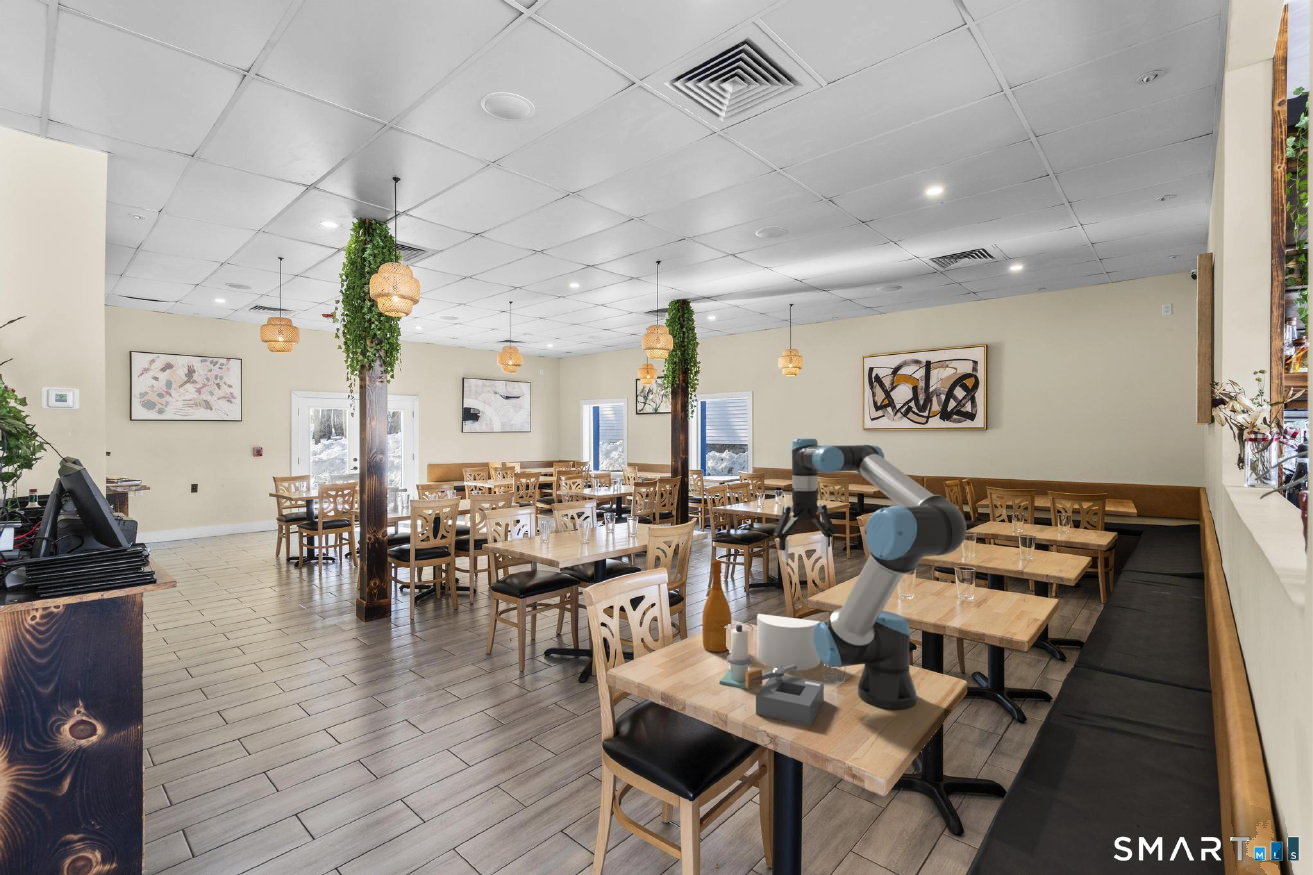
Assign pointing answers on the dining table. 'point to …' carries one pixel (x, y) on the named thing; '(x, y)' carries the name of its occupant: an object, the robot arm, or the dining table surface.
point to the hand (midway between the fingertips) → (805, 559)
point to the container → (786, 642)
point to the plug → (739, 653)
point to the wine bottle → (715, 614)
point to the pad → (732, 681)
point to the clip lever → (765, 674)
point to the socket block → (790, 699)
